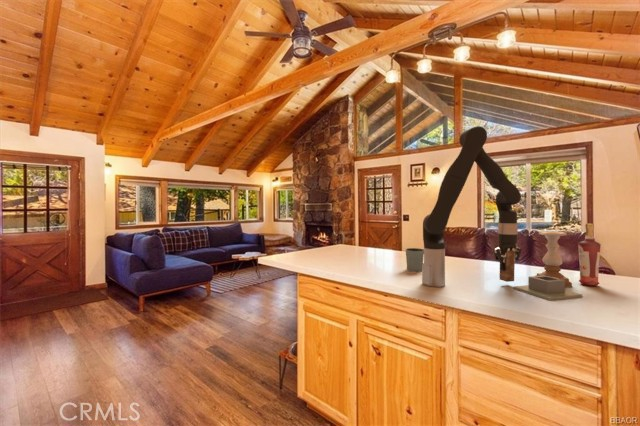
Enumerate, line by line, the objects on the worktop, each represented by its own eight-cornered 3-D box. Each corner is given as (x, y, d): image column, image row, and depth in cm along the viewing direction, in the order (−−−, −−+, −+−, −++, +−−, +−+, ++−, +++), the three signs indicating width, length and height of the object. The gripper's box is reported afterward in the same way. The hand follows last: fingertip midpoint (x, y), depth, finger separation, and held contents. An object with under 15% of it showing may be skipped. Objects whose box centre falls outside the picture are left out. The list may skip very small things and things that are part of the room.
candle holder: (560, 280, 137) (561, 231, 136) (572, 287, 127) (573, 233, 126) (533, 279, 141) (534, 231, 140) (543, 285, 130) (543, 233, 130)
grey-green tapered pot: (416, 267, 170) (416, 247, 170) (428, 271, 161) (427, 250, 160) (402, 269, 167) (401, 248, 167) (412, 272, 157) (412, 251, 157)
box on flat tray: (549, 300, 110) (550, 285, 110) (513, 288, 125) (513, 275, 125) (582, 296, 113) (582, 282, 113) (542, 286, 129) (543, 272, 129)
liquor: (604, 287, 125) (604, 224, 124) (582, 286, 127) (583, 224, 126) (594, 283, 132) (595, 223, 131) (574, 282, 134) (575, 223, 133)
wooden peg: (506, 281, 128) (507, 250, 128) (499, 279, 132) (500, 249, 132) (514, 281, 129) (514, 250, 129) (506, 278, 133) (507, 249, 133)
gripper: (501, 234, 125) (500, 272, 126) (527, 233, 128) (527, 271, 129) (487, 232, 132) (487, 269, 133) (513, 231, 135) (512, 267, 136)
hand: (507, 269), depth 131 cm, fingers closed on wooden peg, 4 cm apart
